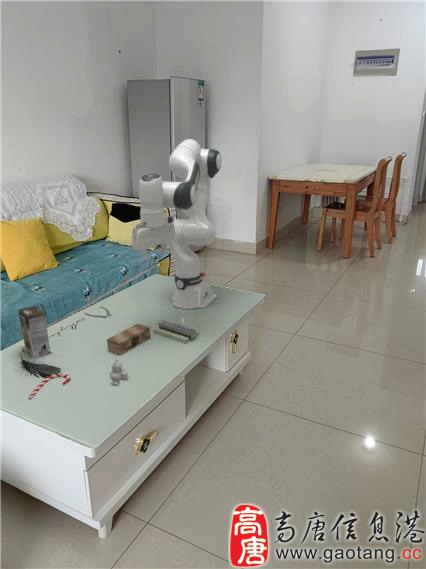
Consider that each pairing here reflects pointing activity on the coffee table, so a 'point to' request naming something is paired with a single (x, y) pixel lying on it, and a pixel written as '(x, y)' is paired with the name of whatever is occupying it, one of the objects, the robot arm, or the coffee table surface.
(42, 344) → the coffee box
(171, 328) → the shaft
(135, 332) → the beam
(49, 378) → the candy cane
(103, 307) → the pliers
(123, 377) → the grey lumpy blob
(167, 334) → the cradle
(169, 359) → the coffee table surface
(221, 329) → the coffee table surface
